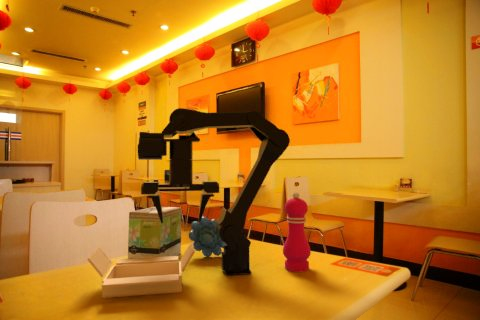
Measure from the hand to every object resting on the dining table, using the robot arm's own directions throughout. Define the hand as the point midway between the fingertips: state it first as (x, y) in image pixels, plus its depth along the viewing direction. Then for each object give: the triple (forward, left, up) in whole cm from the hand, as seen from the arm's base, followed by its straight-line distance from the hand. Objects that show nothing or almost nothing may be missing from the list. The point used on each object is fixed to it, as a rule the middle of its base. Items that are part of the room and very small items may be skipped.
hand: (181, 222), depth 80 cm
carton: (+8, +6, -13) cm, 16 cm away
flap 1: (+17, +6, -7) cm, 20 cm away
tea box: (+7, -16, -13) cm, 22 cm away
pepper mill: (-30, +1, -13) cm, 33 cm away
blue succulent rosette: (-8, -14, -13) cm, 21 cm away
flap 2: (-1, +6, -7) cm, 9 cm away
